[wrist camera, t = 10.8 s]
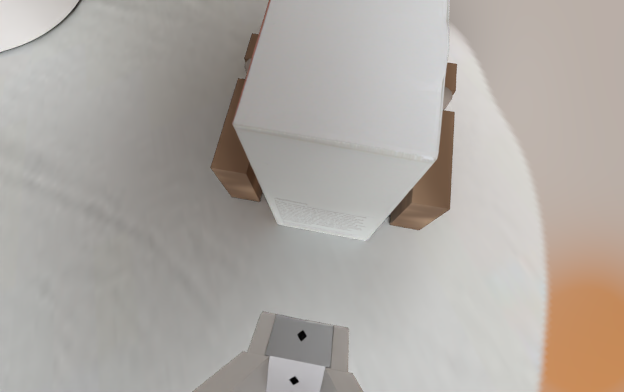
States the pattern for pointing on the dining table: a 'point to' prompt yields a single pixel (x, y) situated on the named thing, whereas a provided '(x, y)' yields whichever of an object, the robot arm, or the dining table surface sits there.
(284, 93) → the small box
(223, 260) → the dining table surface
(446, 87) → the brown u-shaped piece
